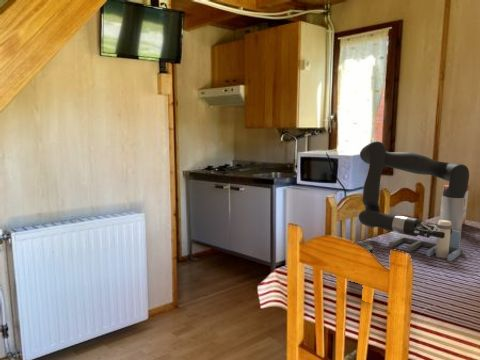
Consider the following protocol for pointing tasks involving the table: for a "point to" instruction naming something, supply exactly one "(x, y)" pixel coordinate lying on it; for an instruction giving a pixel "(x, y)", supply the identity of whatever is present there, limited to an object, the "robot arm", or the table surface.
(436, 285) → the table surface
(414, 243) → the cable comb
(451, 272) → the table surface
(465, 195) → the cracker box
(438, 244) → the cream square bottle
